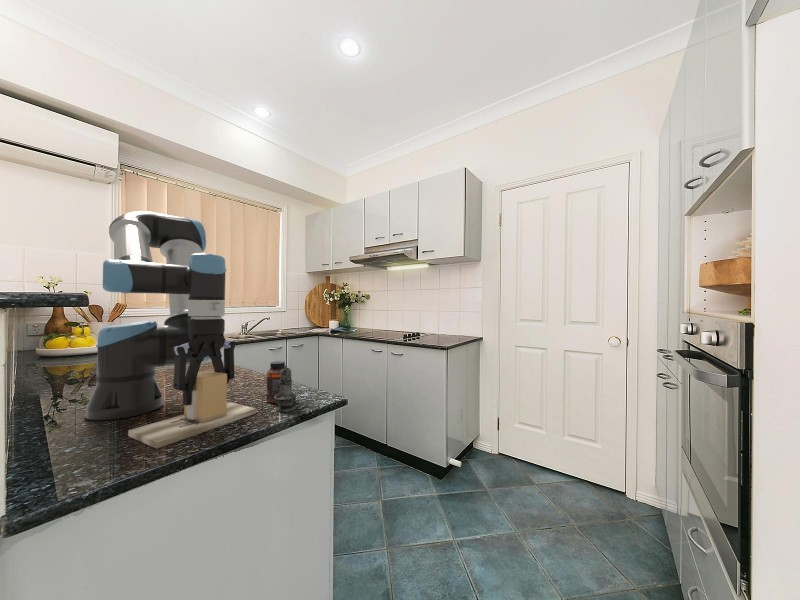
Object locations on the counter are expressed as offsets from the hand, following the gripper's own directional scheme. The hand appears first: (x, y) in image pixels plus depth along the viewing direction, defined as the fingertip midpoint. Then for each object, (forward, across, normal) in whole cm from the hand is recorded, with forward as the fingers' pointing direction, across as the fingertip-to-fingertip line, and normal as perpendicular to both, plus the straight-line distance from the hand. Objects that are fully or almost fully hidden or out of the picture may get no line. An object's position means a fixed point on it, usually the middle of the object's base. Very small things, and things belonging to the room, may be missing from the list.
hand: (205, 413), depth 73 cm
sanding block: (+1, 0, 0) cm, 1 cm away
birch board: (+2, -2, 0) cm, 2 cm away
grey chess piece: (+2, +16, -10) cm, 18 cm away
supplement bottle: (+2, +20, -2) cm, 20 cm away
